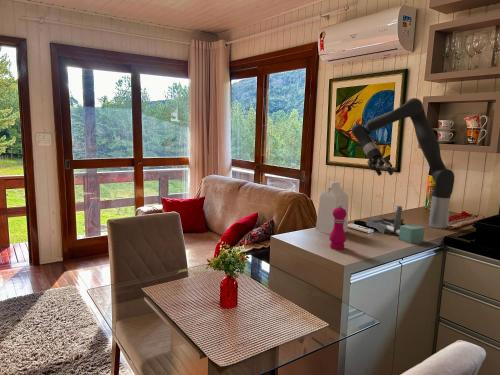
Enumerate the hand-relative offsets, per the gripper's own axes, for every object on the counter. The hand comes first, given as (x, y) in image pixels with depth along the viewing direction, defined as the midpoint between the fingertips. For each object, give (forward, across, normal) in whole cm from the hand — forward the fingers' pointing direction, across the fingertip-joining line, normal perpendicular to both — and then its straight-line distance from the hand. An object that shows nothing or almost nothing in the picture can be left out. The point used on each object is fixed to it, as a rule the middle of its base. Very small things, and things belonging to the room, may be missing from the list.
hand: (386, 174), depth 200 cm
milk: (+19, -33, +23) cm, 44 cm away
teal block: (+38, -7, +3) cm, 39 cm away
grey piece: (+32, -7, +7) cm, 34 cm away
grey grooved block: (+24, -6, +17) cm, 30 cm away
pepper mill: (+35, -49, +6) cm, 60 cm away
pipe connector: (+24, +4, +18) cm, 30 cm away
